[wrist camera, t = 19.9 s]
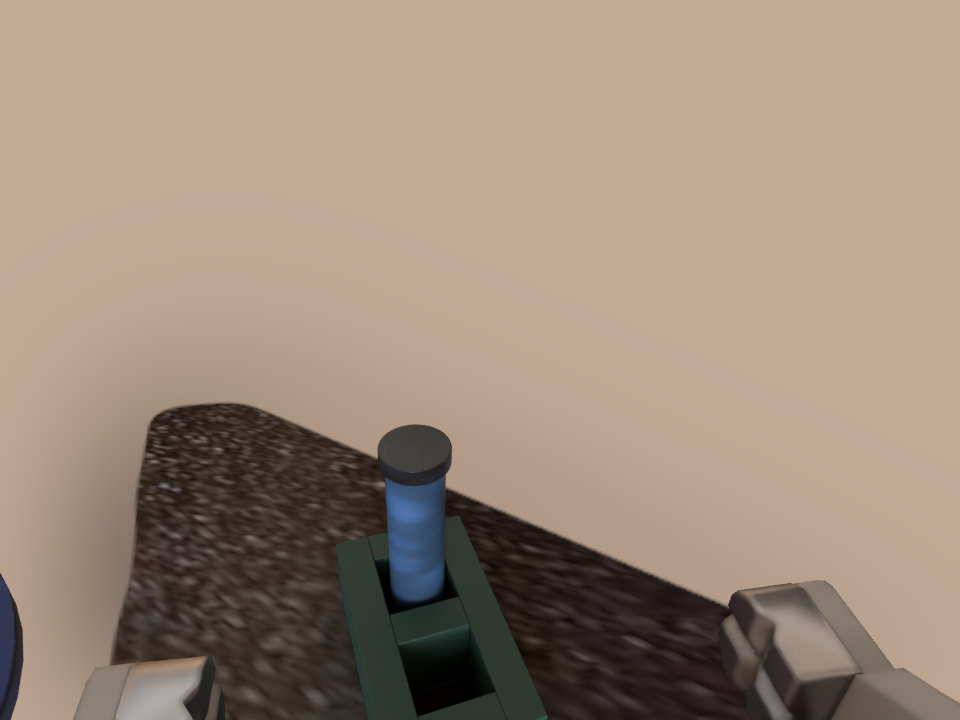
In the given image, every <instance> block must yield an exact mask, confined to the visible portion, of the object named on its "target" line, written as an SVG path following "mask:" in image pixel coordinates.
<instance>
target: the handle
mask: <svg viewBox="0 0 960 720" xmlns="http://www.w3.org/2000/svg"><path fill="white" fill-rule="evenodd" d="M451 459H452V446H451V442H450V440H449V438H448V437H447V436H446V435H445V434H444V433H443V432H442V431H440V430H438V429H436V428H433V427H431V426H426V425H406V426H402V427H399V428H395V429H393V430H391V431H390V432H388V433H387V434H386V435H384V436H383V438H382V439H381V440H380V442H379V445H378V465H379V469H380V471H381V472H382V474H383V475H384V476H385V488H386V507H387V526H388V546H389V565H390V584H391V604H392V614H395V613H399V612H403V611H407V610H410V609H414V608H418V607H422V606H425V605H429V604H433V603H437V602H440V601H444V562H445V480H446V476H445V475H446V473H447V472H448V470H449V469H450V466H451Z"/></svg>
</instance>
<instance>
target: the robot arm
mask: <svg viewBox="0 0 960 720" xmlns="http://www.w3.org/2000/svg"><path fill="white" fill-rule="evenodd" d="M728 606H729V608H730V609H731V611H732V613H733V614H731V615H730V616H729V617H728V618H727V619H726V620H724V621H723V622H722V624H721V627H720V630H719V634H718V645H719V654H720V657H721V660H722V663H723V666H724V668H725V670H726V672H727V674H728V677H729V679H730V681H731V682H732V683H733V684H735V685H736V686H737V687H739V688H740V689H741V690H743V691H744V692H745V693H747V696H746V703H745V710H746V712H747V714H748V716H749V718H750V719H751V720H960V704H959V703H957V702H956V701H954V700H953V699H951V698H949V697H948V696H946V695H945V694H943V693H941V692H940V691H938V690H937V689H935V688H934V687H932V686H931V685H929V684H927V683H926V682H924V681H922V680H921V679H920V678H918V677H917V676H915V675H913V674H912V673H910V672H909V671H907V670H906V669H904V668H900V669H894V668H893V666H892V665H891V663H890V662H889V661H888V659H887V658H886V657H885V655H884V654H883V653H882V651H881V650H880V649H879V647H878V646H877V645H876V644H875V642H874V641H873V639H872V638H871V637H870V635H869V634H868V633H867V631H866V630H865V629H864V628H863V626H862V625H861V623H860V622H859V621H858V619H857V618H856V617H855V616H854V614H853V613H852V611H851V610H850V609H849V607H848V606H847V605H846V603H845V602H844V601H843V599H842V598H841V597H840V596H839V594H838V593H837V591H836V590H835V589H834V588H833V586H831V585H830V584H829V583H827V582H826V581H820V580H816V581H810V582H803V583H795V584H792V583H788V584H781V585H773V586H767V587H759V588H752V589H745V590H739V591H737V592H735V593H734V594H732V596H731V599H730V602H729V604H728ZM214 675H215V666H214V663H213V660H212V657H211V655H208V656H199V657H189V658H180V659H171V660H162V661H152V662H143V663H130V664H122V665H114V666H106V667H98V668H95V670H94V671H93V673H92V674H91V675H90V677H89V679H88V680H87V682H86V684H85V688H84V690H83V693H82V696H81V699H80V701H79V704H78V707H77V710H76V713H75V716H74V719H73V720H225V706H224V697H223V693H222V690H221V687H220V686H218V685H216V684H214V683H213V680H214Z"/></svg>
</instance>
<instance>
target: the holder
mask: <svg viewBox="0 0 960 720" xmlns="http://www.w3.org/2000/svg"><path fill="white" fill-rule="evenodd" d="M336 549H337V558H338V567H339V576H340V585H341V594H342V600H343V604H344V609H345V614H346V618H347V623H348V628H349V632H350V637H351V642H352V646H353V651H354V656H355V660H356V665H357V670H358V674H359V679H360V684H361V688H362V693H363V698H364V702H365V707H366V712H367V716H368V720H547V717H548V715H547V713H546V711H545V708H544V706H543V704H542V701H541V699H540V697H539V695H538V692H537V690H536V688H535V686H534V683H533V681H532V679H531V677H530V674H529V672H528V670H527V668H526V665H525V663H524V661H523V659H522V656H521V654H520V652H519V649H518V647H517V645H516V643H515V640H514V638H513V636H512V634H511V631H510V629H509V627H508V625H507V622H506V620H505V618H504V616H503V613H502V611H501V609H500V607H499V604H498V602H497V600H496V597H495V595H494V593H493V591H492V588H491V586H490V584H489V582H488V579H487V577H486V575H485V573H484V570H483V568H482V566H481V564H480V561H479V559H478V557H477V555H476V552H475V550H474V548H473V546H472V543H471V541H470V539H469V536H468V534H467V532H466V530H465V527H464V525H463V523H462V521H461V518H460V516H455V517H450V518H446V519H445V562H444V601H440V602H437V603H433V604H429V605H425V606H422V607H418V608H414V609H410V610H407V611H403V612H399V613H395V614H392V615H390V616H389V612H388V609H391V608H392V604H391V584H390V565H389V546H388V532H386V533H382V534H377V535H373V536H369V537H363V538H359V539H355V540H350V541H346V542H341V543H337V544H336ZM466 677H468V679H469V682H470V685H471V688H472V691H473V693H474V696H475V699H472V700H469V701H465V702H462V703H459V704H456V705H453V706H450V707H447V708H443V709H440V710H437V711H434V712H431V713H428V714H424V715H421V716H419V717H417V713H416V709H415V706H414V702H413V699H412V695H411V694H414V693H417V692H421V691H424V690H427V689H430V688H434V687H437V686H440V685H443V684H447V683H450V682H453V681H457V680H460V679H463V678H466Z"/></svg>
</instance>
